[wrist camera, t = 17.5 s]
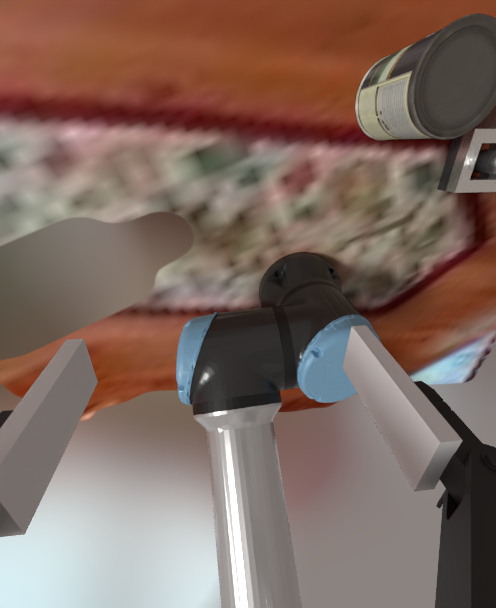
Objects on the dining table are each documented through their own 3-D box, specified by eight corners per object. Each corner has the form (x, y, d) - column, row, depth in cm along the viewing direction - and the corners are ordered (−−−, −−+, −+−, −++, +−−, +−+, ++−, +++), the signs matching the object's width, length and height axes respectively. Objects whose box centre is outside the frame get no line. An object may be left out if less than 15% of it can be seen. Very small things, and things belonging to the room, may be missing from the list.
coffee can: (370, 44, 38) (445, -3, 26) (436, 65, 40) (534, 31, 28) (343, 132, 43) (396, 127, 31) (403, 147, 45) (475, 148, 33)
